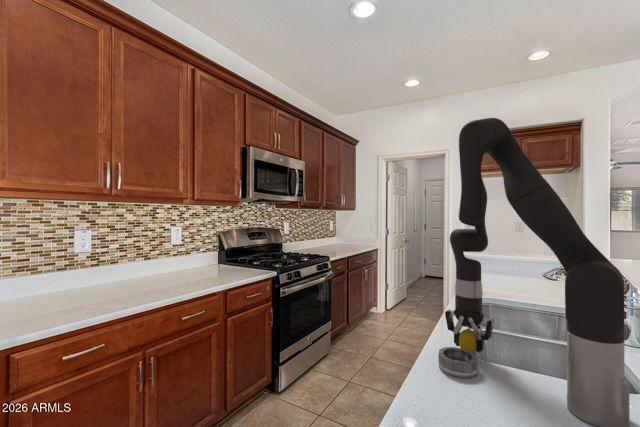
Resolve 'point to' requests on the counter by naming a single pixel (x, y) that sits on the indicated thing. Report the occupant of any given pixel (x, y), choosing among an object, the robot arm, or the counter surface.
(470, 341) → the lemon
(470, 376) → the holder
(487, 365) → the counter surface
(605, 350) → the robot arm
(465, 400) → the counter surface
